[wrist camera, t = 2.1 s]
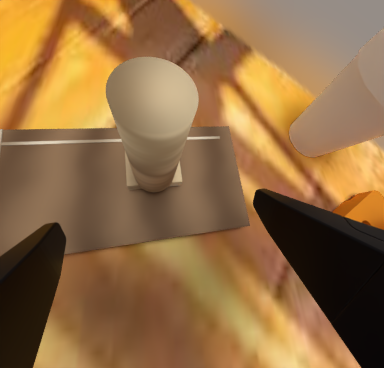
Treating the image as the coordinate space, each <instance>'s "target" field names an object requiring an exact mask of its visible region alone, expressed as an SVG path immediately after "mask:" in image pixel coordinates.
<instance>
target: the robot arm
mask: <svg viewBox="0 0 384 368" xmlns="http://www.w3.org/2000/svg"><path fill="white" fill-rule="evenodd" d="M253 206H254V208H255V210H256V212H257V214H258V215H259V217H260V219H261V221H262V223H263V225H264V226H265V228H266V230H267V231H268V233H269V235H270V236H271V237H272V239H273V240H274V242H275V243H276V245H277V246H278V248H279V249H280V250H281V252H282V253H283V255H284V256H285V258H286V259H287V261H288V262H289V263H290V265H291V266H292V268H293V269H294V271H295V272H296V274H297V275H298V276H299V278H300V279H301V281H302V282H303V284H304V285H305V287H306V288H307V290H308V291H309V292H310V294H311V295H312V297H313V298H314V300H315V301H316V303H317V304H318V305H319V307H320V308H321V310H322V311H323V313H324V314H325V316H326V317H327V318H328V320H329V321H330V322H331V324H332V326H333V327H334V329H335V330H336V332H337V333H338V335H339V336H340V337H341V339H342V340H343V342H344V343H345V345H346V346H347V348H348V349H349V350H350V352H351V353H352V355H353V356H354V358H355V359H356V361H357V362H358V364H359V365H360V366H361V368H384V230H383V229H380V228H376V227H373V226H370V225H367V224H364V223H361V222H358V221H355V220H352V219H350V218H347V217H344V216H343V217H342V216H341V215H338V214H335V213H332V212H330V211H327V210H324V209H321V208H318V207H315V206H313V205H310V204H307V203H304V202H301V201H298V200H296V199H293V198H290V197H287V196H284V195H281V194H279V193H276V192H273V191H270V190H267V189H258V190H256V192H255V196H254V200H253ZM65 247H66V236H65V234H64V232H63V230H62V228H61V226H60V224H59V223H58V222H53V223H47V224H44V225H43V226H41V227H40V228H39V229H37V230H36V231H35V232H33V233H32V234H30V235H29V236H28V237H26V238H25V239H23V240H22V241H21V242H19V243H18V244H17V245H15V246H14V247H12V248H11V249H10V250H8V251H7V252H5V253H4V254H3V255H1V256H0V368H33V365H34V362H35V359H36V356H37V352H38V349H39V346H40V342H41V339H42V336H43V332H44V329H45V326H46V323H47V319H48V316H49V313H50V309H51V306H52V303H53V299H54V296H55V293H56V290H57V286H58V283H59V279H60V275H61V270H62V264H63V258H64V253H65Z"/></svg>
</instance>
